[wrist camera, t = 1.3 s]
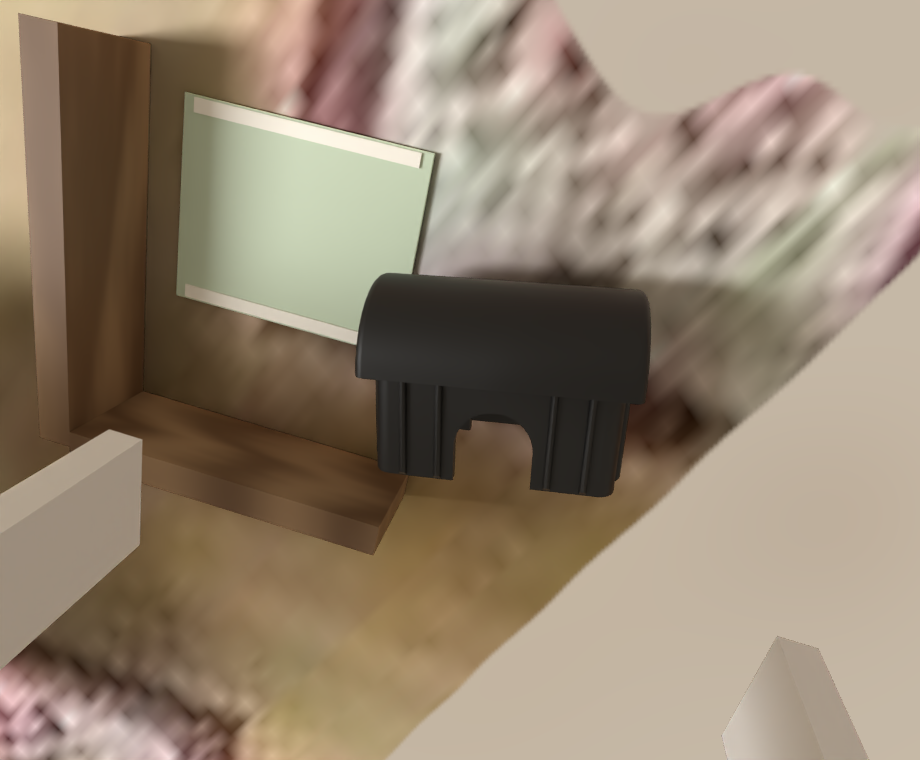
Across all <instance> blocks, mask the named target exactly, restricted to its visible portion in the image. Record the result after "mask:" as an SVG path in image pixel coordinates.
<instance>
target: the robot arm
mask: <svg viewBox="0 0 920 760" xmlns="http://www.w3.org/2000/svg"><path fill="white" fill-rule="evenodd" d="M141 477H142V439H139V438H136V437H132V436H129V435H126V434H123V433H119V432H116V431H113V430H110V429H109V430H107V431H105V432H104V433H102V434H100V435H99V436H97V437H95V438H94V439H92V440H90V441H89V442H87V443H85V444H84V445H82V446H80V447H79V448H77V449H75V450H74V451H72V452H70V453H68V454H67V455H65V456H63V457H62V458H60V459H58V460H57V461H55V462H53V463H52V464H50V465H48V466H47V467H45V468H43V469H42V470H40V471H38V472H37V473H35V474H33V475H32V476H30V477H28V478H27V479H25V480H23V481H22V482H20V483H18V484H17V485H15V486H13V487H11V488H10V489H8V490H6V491H5V492H3V493H1V494H0V670H1V669H2V668H3V667H4V666H5V665H6V664H8V663H9V662H10V661H11V660H12V659H13V658H14V657H15V656H16V655H18V654H19V653H20V652H21V651H22V650H23V649H24V648H25V647H27V646H28V645H29V644H30V643H31V642H32V641H33V640H34V639H35V638H37V637H38V636H39V635H40V634H41V633H42V632H43V631H44V630H46V629H47V628H48V627H49V626H50V625H51V624H52V623H53V622H54V621H56V620H57V619H58V618H59V617H60V616H61V615H62V614H63V613H64V612H66V611H67V610H68V609H69V608H70V607H71V606H72V605H73V604H75V603H76V602H77V601H78V600H79V599H80V598H81V597H82V596H83V595H85V594H86V593H87V592H88V591H89V590H90V589H91V588H92V587H94V586H95V585H96V584H97V583H98V582H99V581H100V580H101V579H102V578H104V577H105V576H106V575H107V574H108V573H109V572H110V571H111V570H112V569H114V568H115V567H116V566H117V565H118V564H119V563H120V562H121V561H123V560H124V559H125V558H126V557H127V556H128V555H129V554H130V553H131V552H133V551H134V550H135V549H136V548H137V547H138V546H139V545H140V518H141ZM722 739H723V744H724V748H725V752H726V757H727V760H869V759H868V756H867V755H866V752H865V750H864V748H863V746H862V743H861V741H860V739H859V737H858V735H857V732H856V730H855V728H854V726H853V724H852V722H851V719H850V717H849V715H848V713H847V711H846V708H845V706H844V704H843V702H842V699H841V697H840V695H839V693H838V691H837V688H836V687H835V684H834V682H833V680H832V677H831V675H830V673H829V671H828V669H827V667H826V664H825V662H824V660H823V658H822V656H821V653H820V651H819V649H818V648H814V647H811V646H808V645H805V644H802V643H798V642H795V641H792V640H789V639H785V638H782V637H779V636H777V637H776V639H775V641H774V643H773V644H772V646H771V648H770V650H769V652H768V653H767V655H766V657H765V659H764V661H763V662H762V664H761V666H760V668H759V669H758V671H757V673H756V675H755V677H754V679H753V680H752V682H751V684H750V686H749V687H748V689H747V691H746V693H745V694H744V696H743V698H742V700H741V702H740V703H739V705H738V707H737V709H736V710H735V712H734V714H733V716H732V718H731V719H730V721H729V723H728V725H727V726H726V728H725V730H724V732H723V734H722Z"/></svg>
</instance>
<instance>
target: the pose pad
mask: <svg viewBox="0 0 920 760" xmlns="http://www.w3.org/2000/svg"><path fill="white" fill-rule="evenodd" d="M435 154H436V153H432V152H428V151H424V150H420V149H416V148H412V147H407V146H403V145H399V144H395V143H391V142H387V141H383V140H379V139H375V138H371V137H367V136H363V135H359V134H355V133H351V132H347V131H343V130H339V129H335V128H331V127H327V126H323V125H319V124H314V123H310V122H306V121H302V120H298V119H294V118H290V117H286V116H282V115H278V114H274V113H270V112H266V111H262V110H258V109H254V108H250V107H246V106H242V105H238V104H234V103H230V102H226V101H222V100H217V99H213V98H209V97H205V96H201V95H197V94H193V93H189V92H185V100H184V124H183V147H182V171H181V194H180V218H179V241H178V265H177V288H176V295H178V296H182V297H185V298H189V299H192V300H196V301H199V302H203V303H207V304H210V305H214V306H217V307H221V308H224V309H228V310H232V311H235V312H239V313H242V314H246V315H249V316H253V317H257V318H260V319H264V320H267V321H271V322H274V323H278V324H281V325H285V326H289V327H292V328H296V329H299V330H303V331H306V332H310V333H314V334H317V335H321V336H324V337H328V338H331V339H335V340H339V341H342V342H346V343H349V344H353V345H356V344H357V336H358V329H359V324H360V318H361V314H362V310H363V306H364V303H365V300H366V297H367V295H368V292H369V290H370V288H371V286H372V284H373V283H374V281H375V280H376V279H377V278H378V277H379V276H380V275H382V274H385V273H401V274H412V273H413V268H414V263H415V258H416V252H417V247H418V242H419V237H420V232H421V227H422V221H423V216H424V211H425V206H426V201H427V196H428V190H429V185H430V180H431V175H432V170H433V165H434V159H435Z"/></svg>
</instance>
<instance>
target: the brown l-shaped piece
mask: <svg viewBox="0 0 920 760" xmlns="http://www.w3.org/2000/svg"><path fill="white" fill-rule="evenodd" d="M18 18H19V37H20V57H21V77H22V96H23V116H24V136H25V156H26V175H27V195H28V215H29V235H30V254H31V274H32V294H33V313H34V333H35V353H36V373H37V392H38V412H39V432H40V438H43V439H47V440H50V441H53V442H56V443H59V444H63V445H66V446H69V447H70V452H72V451H74V450H75V449H77V448H79V447H80V446H82V445H84V444H85V443H87V442H89V441H90V440H92V439H94V438H95V437H97V436H99V435H100V434H102V433H104V432H105V431H107V430H109V429H110V430H113V431H116V432H119V433H123V434H126V435H129V436H132V437H136V438H139V439H142V477H141V483H143V484H146V485H149V486H152V487H156V488H159V489H162V490H165V491H168V492H172V493H175V494H178V495H181V496H184V497H188V498H191V499H194V500H197V501H200V502H204V503H207V504H210V505H213V506H216V507H220V508H223V509H226V510H229V511H233V512H236V513H239V514H242V515H245V516H249V517H252V518H255V519H258V520H261V521H265V522H268V523H271V524H274V525H277V526H281V527H284V528H287V529H290V530H293V531H297V532H300V533H303V534H306V535H309V536H313V537H316V538H319V539H322V540H325V541H329V542H332V543H335V544H338V545H342V546H345V547H348V548H351V549H354V550H358V551H361V552H364V553H367V554H370V555H374V553H375V551H376V549H377V547H378V545H379V543H380V541H381V539H382V537H383V535H384V533H385V531H386V530H387V528H388V526H389V524H390V522H391V520H392V518H393V516H394V514H395V512H396V510H397V508H398V506H399V504H400V502H401V500H402V499H403V497H404V494H405V489H406V485H407V480H408V476H409V475H402V474H394V473H387V472H384V471H381V470H380V469H379V468H378V461H377V460H373V459H370V458H367V457H363V456H360V455H357V454H353V453H350V452H346V451H343V450H340V449H336V448H333V447H330V446H326V445H323V444H320V443H316V442H313V441H309V440H306V439H303V438H299V437H296V436H293V435H289V434H286V433H283V432H279V431H276V430H272V429H269V428H266V427H262V426H259V425H256V424H252V423H249V422H246V421H242V420H239V419H235V418H232V417H229V416H225V415H222V414H219V413H215V412H212V411H208V410H205V409H202V408H198V407H195V406H192V405H188V404H185V403H182V402H178V401H175V400H171V399H168V398H165V397H161V396H158V395H155V394H151V393H148V392H145V391H143V369H144V325H145V280H146V236H147V191H148V147H149V102H150V58H151V44H149V43H145V42H141V41H137V40H133V39H128V38H124V37H120V36H116V35H111V34H107V33H103V32H98V31H94V30H90V29H85V28H81V27H77V26H72V25H68V24H64V23H59V22H55V21H51V20H46V19H42V18H38V17H33V16H29V15H25V14H20V13H18Z"/></svg>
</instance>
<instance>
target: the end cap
mask: <svg viewBox="0 0 920 760" xmlns="http://www.w3.org/2000/svg"><path fill="white" fill-rule="evenodd" d="M650 345H651V317H650V307H649V302H648V298H647V296H646V295H645V293H644V292H642V291H641V290H634V289H619V288H605V287H590V286H576V285H561V284H547V283H532V282H518V281H503V280H489V279H474V278H459V277H445V276H430V275H416V274H401V273H385V274H382V275H380V276H379V277H378V278H377V279H376V280H375V281H374V283H373V284H372V286H371V288H370V290H369V292H368V295H367V297H366V300H365V303H364V306H363V310H362V314H361V318H360V324H359V329H358V336H357V344H356V359H355V376H356V377H357V378H362V379H373V380H376V427H377V458H378V468H379V469H380V470H381V471H384V472H387V473H394V474H402V475H411V476H420V477H428V478H437V479H446V480H453V477H454V471H455V443H456V434H457V432H458V430H459V429H463V430H470V428H471V423H472V420H478V421H488V422H498V423H508V424H518V425H521V426H522V427H523V428H524V429H525V431H526V432H527V433H528V435H529V437H530V439H531V443H532V447H533V458H532V469H531V481H530V489H532V490H541V491H549V492H558V493H567V494H575V495H584V496H593V497H606V496H609V495H611V494H612V493H613V490H614V483H615V481H616V480H617V479H618V478H619V477H620V471H621V464H622V457H623V450H624V443H625V437H626V430H627V423H628V416H629V409H630V404H644V403H645V399H646V391H647V383H648V374H649V362H650Z"/></svg>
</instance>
